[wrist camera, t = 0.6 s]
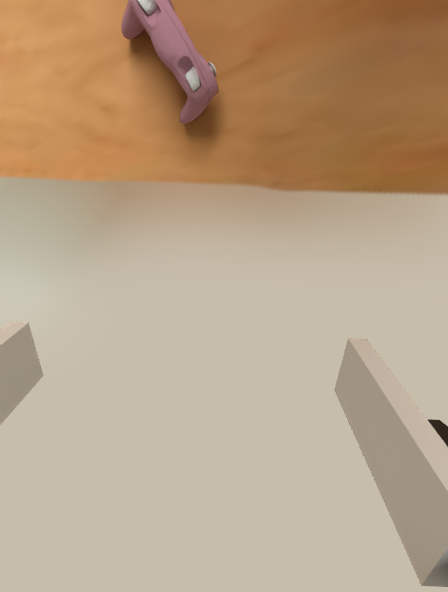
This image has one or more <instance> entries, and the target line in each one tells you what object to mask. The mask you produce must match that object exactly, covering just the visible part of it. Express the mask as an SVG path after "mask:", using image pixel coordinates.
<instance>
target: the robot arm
mask: <svg viewBox="0 0 448 592" xmlns="http://www.w3.org/2000/svg"><path fill="white" fill-rule="evenodd" d="M42 377H43V373H42V369H41V366H40V362H39V358H38V355H37V351H36V348H35V344H34V341H33V337H32V334H31V330H30V326H29V323H24V322H9V323H8V324H6V325H5V326H4V327H2V328H1V329H0V425H1V424H2V423H3V421H4V420H5V419H6V418H7V417H8V416H9V415H10V413H11V412H12V411H13V410H14V409H15V408H16V406H17V405H18V404H19V403H20V402H21V401H22V399H23V398H24V397H25V396H26V395H27V394H28V393H29V392H30V390H31V389H32V388H33V387H34V386H35V385H36V383H37V382H38V381H39V380H40V379H41V378H42ZM335 392H336V394H337V397H338V399H339V401H340V403H341V406H342V408H343V410H344V412H345V415H346V417H347V419H348V421H349V424H350V426H351V428H352V430H353V433H354V435H355V437H356V439H357V442H358V444H359V446H360V448H361V451H362V453H363V455H364V457H365V460H366V462H367V464H368V466H369V468H370V471H371V473H372V475H373V477H374V480H375V482H376V484H377V486H378V489H379V491H380V493H381V496H382V498H383V500H384V502H385V505H386V507H387V509H388V511H389V514H390V516H391V518H392V520H393V523H394V525H395V527H396V529H397V532H398V534H399V536H400V538H401V541H402V543H403V545H404V547H405V550H406V552H407V554H408V556H409V558H410V561H411V563H412V565H413V568H414V570H415V572H416V574H417V577H418V578H419V581H420V583H421V585H422V586H441V587H448V426H446V425H445V424H444V423H443V422H441V421H440V420H427V419H426V417H425V416H424V415H423V413H422V412H421V411H420V409H419V408H418V407H417V405H416V404H415V403H414V401H413V400H412V399H411V397H410V396H409V395H408V393H407V392H406V391H405V389H404V388H403V387H402V385H401V384H400V383H399V381H398V380H397V379H396V377H395V376H394V375H393V373H392V372H391V371H390V369H389V368H388V367H387V365H386V364H385V363H384V361H383V360H382V359H381V357H380V356H379V355H378V353H377V352H376V351H375V350H374V348H373V347H372V346H371V344H370V343H369V342H368V340H367V339H351V338H350V339H349V338H348V341H347V345H346V349H345V353H344V356H343V360H342V364H341V368H340V372H339V375H338V380H337V383H336V387H335Z"/></svg>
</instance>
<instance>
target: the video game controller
mask: <svg viewBox="0 0 448 592" xmlns="http://www.w3.org/2000/svg"><path fill="white" fill-rule="evenodd" d="M121 26H122V33H123V35H124V37H125V38H127V39H133V38H134V37H136V36H138V35H139V34H141V33H142V32H143V31H144V30H146V31H147V33H148V34H149V36H150V38H151V40H152V44H153V46H154V49H155V51H156V53H157V55H158V57H159V58H160V60H161V61H162V62H163V63H164V64H165V66H166V67H168V68H169V69H170V70H171V71H172V72H173V74H174V76H175V77H176V79H177V81H178V82H179V84H180V86H181V87H182V88H183V90H184V91H185V93H186V94H187V96H188V97H187V101H186V103H185V105H184V107H183V109H182V111H181V112H180V122H181V123H183V124H186V123H189V122H192V121H193V120H195V119H196V118H197V117H198V116H199V115H200V114H201V113H202V112H203V110H204V109H205V108H206V107H207V105H208V103H209V102H210V100H211V99H212V97H213V96H215V95H216V94H217V93H218V85H217V82H216V80H215V77H216V76H217V72H216V68H215V66H214V65H213V64H212V63H211V62H208V64H207V62H206V61H205V59H204V58H203V57H202V56H201V54H199V53H198V52H197V50H196V48H195V46H194V44H193V42H192V41H191V39H190V37H189V35H188V33H187V32H186V30H185V28H184V26H183V25H182V23H181V21H180V20H179V18H178V16H177V15H176V13H175V10H174V8H173V5H172V2H171V0H129V1H128V4H127V7H126V11H125V14H124V17H123V20H122V25H121ZM214 76H215V77H214Z"/></svg>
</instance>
